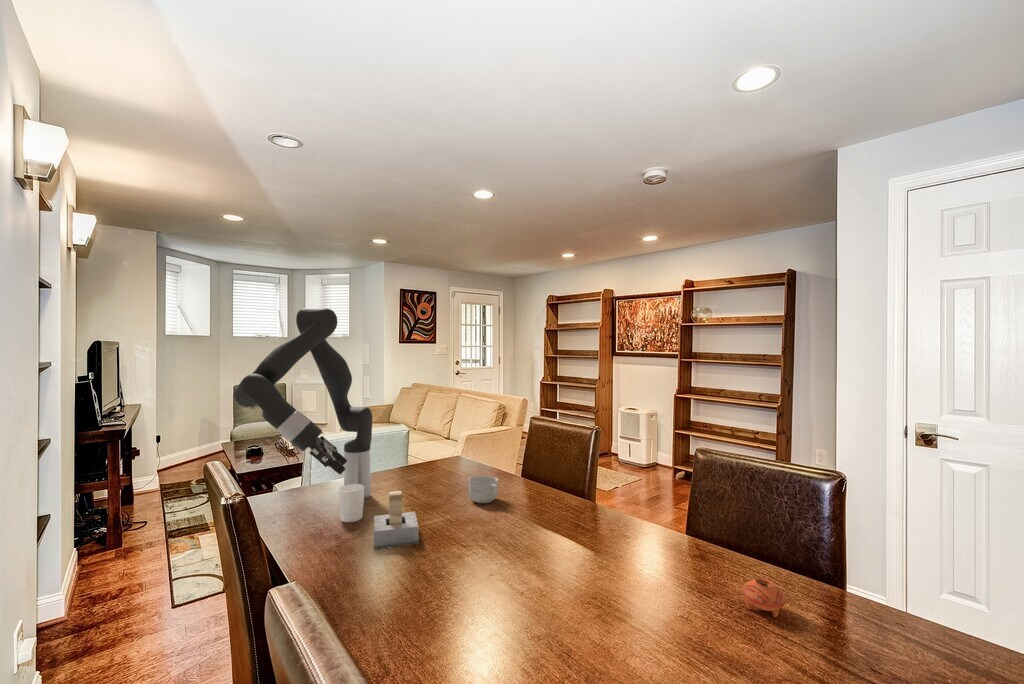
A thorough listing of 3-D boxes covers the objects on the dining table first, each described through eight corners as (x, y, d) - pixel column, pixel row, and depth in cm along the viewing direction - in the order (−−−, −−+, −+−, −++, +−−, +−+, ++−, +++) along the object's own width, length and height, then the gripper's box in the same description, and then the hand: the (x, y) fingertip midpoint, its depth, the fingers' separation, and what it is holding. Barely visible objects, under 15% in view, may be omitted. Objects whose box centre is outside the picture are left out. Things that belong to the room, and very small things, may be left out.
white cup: (368, 514, 150) (368, 484, 150) (357, 523, 142) (357, 491, 142) (345, 513, 151) (345, 483, 151) (334, 522, 143) (333, 491, 143)
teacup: (464, 498, 166) (464, 476, 166) (491, 494, 170) (491, 472, 170) (477, 510, 153) (477, 487, 153) (507, 505, 157) (507, 482, 158)
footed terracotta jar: (743, 593, 101) (751, 565, 100) (782, 614, 96) (791, 585, 95) (734, 608, 94) (742, 579, 94) (775, 631, 90) (785, 600, 89)
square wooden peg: (389, 533, 132) (389, 492, 132) (401, 531, 133) (401, 490, 133) (389, 537, 129) (389, 495, 129) (401, 536, 130) (401, 494, 130)
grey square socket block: (374, 532, 135) (374, 515, 135) (415, 527, 139) (414, 511, 139) (374, 549, 124) (374, 531, 124) (418, 544, 127) (418, 526, 127)
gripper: (306, 424, 120) (352, 464, 123) (313, 415, 133) (354, 451, 137) (284, 446, 118) (332, 485, 122) (293, 435, 132) (336, 470, 135)
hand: (344, 467), depth 129 cm, fingers open, 8 cm apart
